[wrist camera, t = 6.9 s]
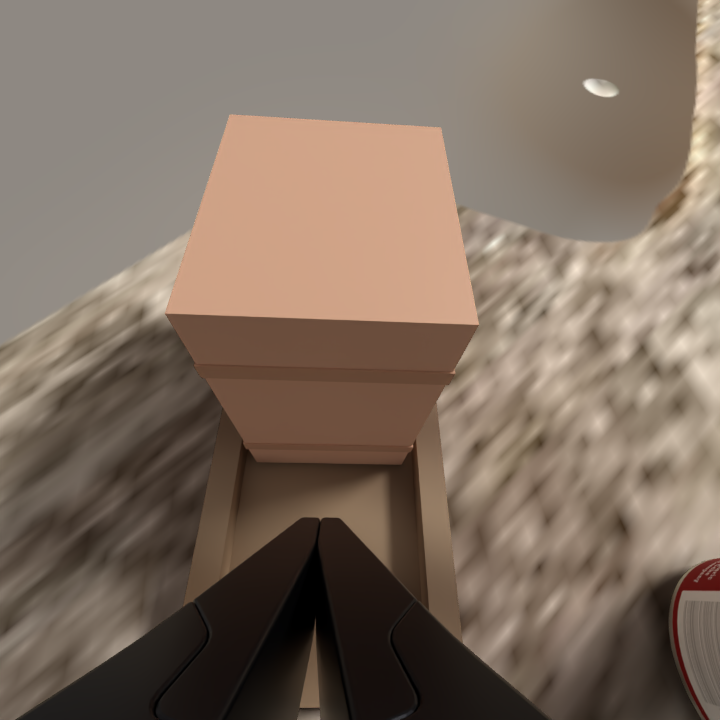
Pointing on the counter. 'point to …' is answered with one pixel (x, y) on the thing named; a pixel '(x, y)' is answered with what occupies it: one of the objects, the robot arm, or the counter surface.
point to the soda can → (698, 636)
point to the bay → (334, 500)
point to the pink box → (326, 287)
